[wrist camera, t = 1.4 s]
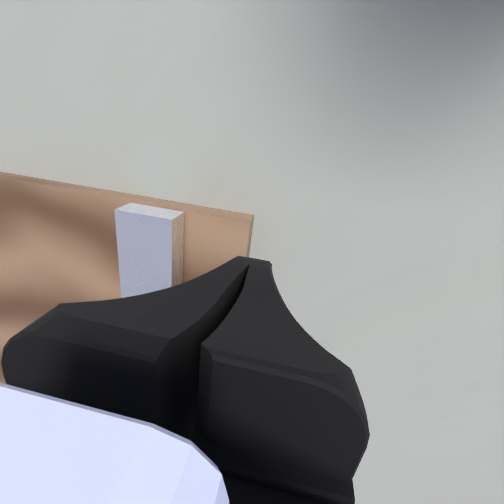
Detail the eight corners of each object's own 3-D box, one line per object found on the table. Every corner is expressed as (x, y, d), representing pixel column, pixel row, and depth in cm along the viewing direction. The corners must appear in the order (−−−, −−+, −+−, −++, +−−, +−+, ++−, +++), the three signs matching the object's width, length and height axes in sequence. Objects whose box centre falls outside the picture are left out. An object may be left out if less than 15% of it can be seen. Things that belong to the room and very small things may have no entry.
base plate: (224, 441, 24) (207, 504, 20) (16, 385, 26) (-37, 432, 22) (253, 215, 16) (235, 244, 12) (-50, 163, 18) (-154, 172, 14)
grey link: (187, 428, 22) (179, 447, 20) (134, 414, 22) (123, 432, 21) (196, 214, 15) (185, 222, 14) (119, 200, 15) (101, 207, 14)
